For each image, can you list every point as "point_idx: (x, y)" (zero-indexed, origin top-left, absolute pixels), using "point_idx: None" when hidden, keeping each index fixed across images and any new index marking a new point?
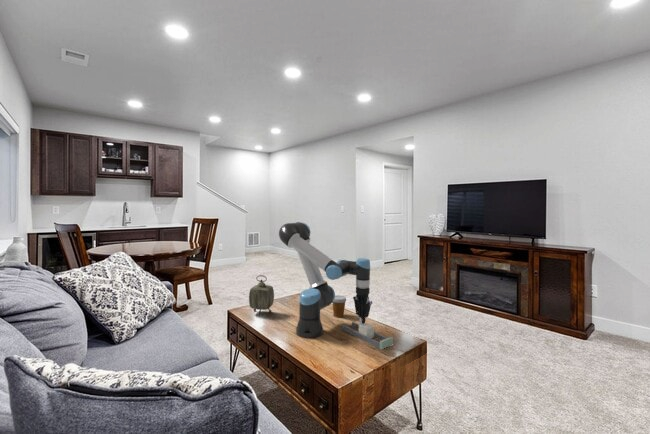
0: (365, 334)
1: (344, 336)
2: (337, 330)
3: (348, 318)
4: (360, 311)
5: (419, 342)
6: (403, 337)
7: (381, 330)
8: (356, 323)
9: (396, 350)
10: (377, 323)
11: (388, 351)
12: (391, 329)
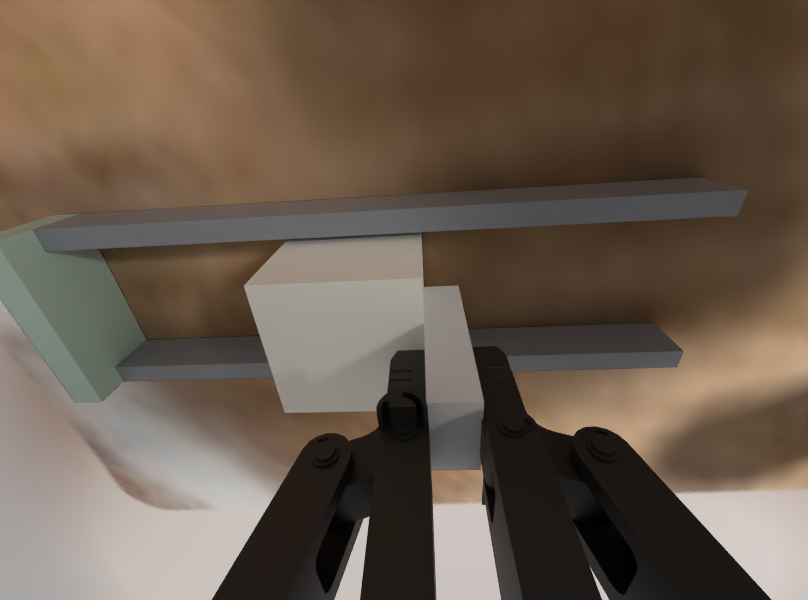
0: (295, 249)
1: (529, 51)
2: (737, 94)
3: (794, 408)
4: (506, 549)
5: (136, 492)
6: (233, 475)
7: None
8: (612, 367)
9: None
10: None
11: None
12: None
